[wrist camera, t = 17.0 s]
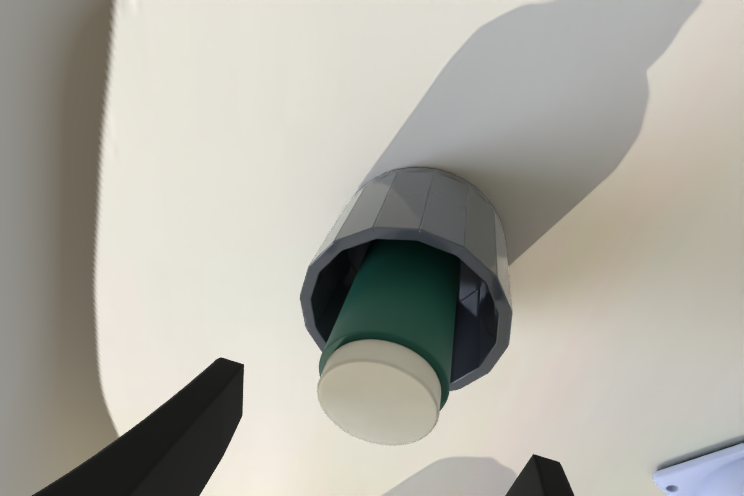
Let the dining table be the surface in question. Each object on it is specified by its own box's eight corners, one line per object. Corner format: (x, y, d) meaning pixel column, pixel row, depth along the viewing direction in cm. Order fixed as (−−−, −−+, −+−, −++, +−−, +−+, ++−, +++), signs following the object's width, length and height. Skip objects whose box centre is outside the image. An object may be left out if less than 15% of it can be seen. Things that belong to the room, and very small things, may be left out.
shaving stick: (479, 250, 17) (478, 419, 11) (417, 297, 19) (382, 467, 12) (414, 190, 17) (368, 329, 10) (355, 245, 18) (283, 394, 12)
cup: (540, 249, 17) (560, 333, 13) (421, 331, 21) (406, 419, 16) (416, 129, 16) (393, 181, 12) (311, 239, 19) (264, 310, 15)
